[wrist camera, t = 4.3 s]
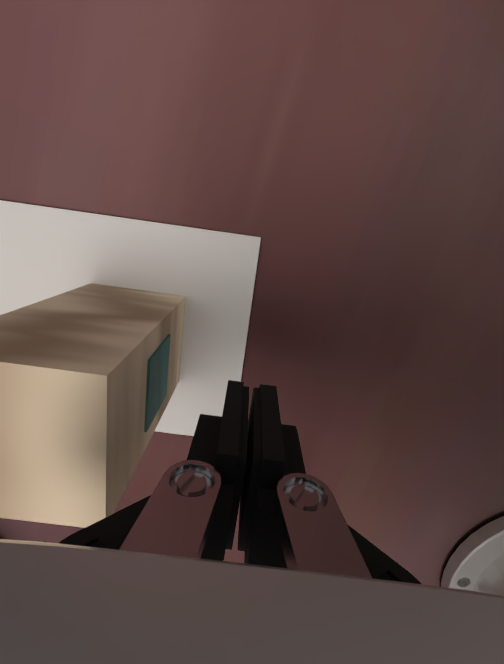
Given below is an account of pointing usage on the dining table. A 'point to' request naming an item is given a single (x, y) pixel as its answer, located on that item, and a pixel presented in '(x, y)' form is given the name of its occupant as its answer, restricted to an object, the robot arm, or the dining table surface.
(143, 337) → the maple block
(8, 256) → the felt mat
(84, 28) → the dining table surface
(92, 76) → the dining table surface
